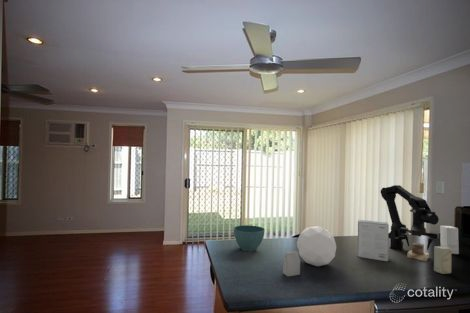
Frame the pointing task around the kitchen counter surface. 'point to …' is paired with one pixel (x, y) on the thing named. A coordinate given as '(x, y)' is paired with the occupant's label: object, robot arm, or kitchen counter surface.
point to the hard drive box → (373, 240)
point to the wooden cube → (418, 248)
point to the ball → (316, 246)
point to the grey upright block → (291, 264)
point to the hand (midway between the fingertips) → (418, 248)
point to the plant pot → (248, 237)
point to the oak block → (418, 256)
